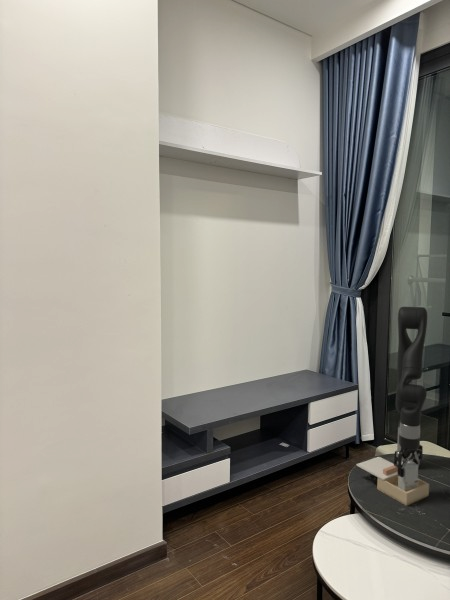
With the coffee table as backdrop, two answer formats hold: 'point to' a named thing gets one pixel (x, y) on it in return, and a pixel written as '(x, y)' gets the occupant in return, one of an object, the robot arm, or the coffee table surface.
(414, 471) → the skincare box
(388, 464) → the lid
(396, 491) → the box
